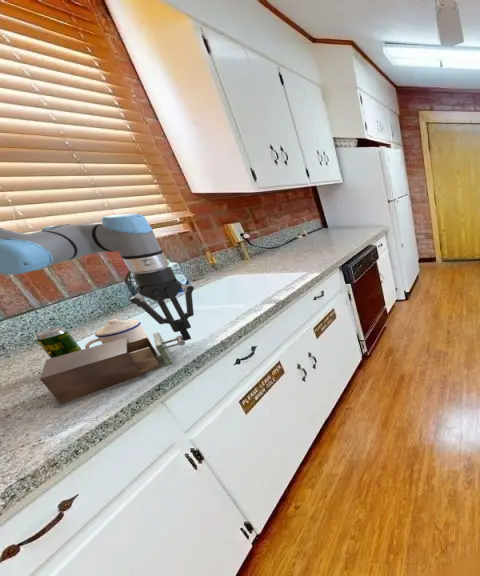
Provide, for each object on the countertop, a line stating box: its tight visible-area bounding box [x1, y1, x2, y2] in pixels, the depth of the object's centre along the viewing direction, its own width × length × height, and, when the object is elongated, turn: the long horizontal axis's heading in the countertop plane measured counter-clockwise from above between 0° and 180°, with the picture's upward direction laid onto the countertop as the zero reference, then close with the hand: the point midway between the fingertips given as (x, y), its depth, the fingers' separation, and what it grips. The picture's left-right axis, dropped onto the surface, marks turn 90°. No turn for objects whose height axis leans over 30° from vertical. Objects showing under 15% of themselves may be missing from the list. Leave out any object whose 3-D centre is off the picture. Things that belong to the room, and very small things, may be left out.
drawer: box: [128, 332, 186, 374], centre depth 87 cm, size 17×10×7 cm, turn 141°
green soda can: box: [33, 326, 83, 359], centre depth 87 cm, size 5×5×12 cm
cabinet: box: [39, 338, 143, 405], centre depth 81 cm, size 14×12×9 cm
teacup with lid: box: [84, 318, 153, 349], centre depth 93 cm, size 12×9×12 cm
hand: (187, 338), depth 94 cm, fingers closed
